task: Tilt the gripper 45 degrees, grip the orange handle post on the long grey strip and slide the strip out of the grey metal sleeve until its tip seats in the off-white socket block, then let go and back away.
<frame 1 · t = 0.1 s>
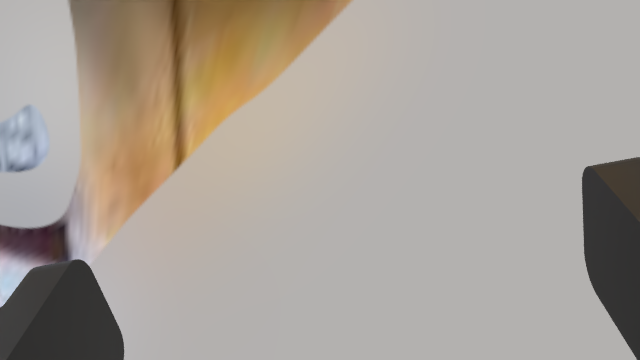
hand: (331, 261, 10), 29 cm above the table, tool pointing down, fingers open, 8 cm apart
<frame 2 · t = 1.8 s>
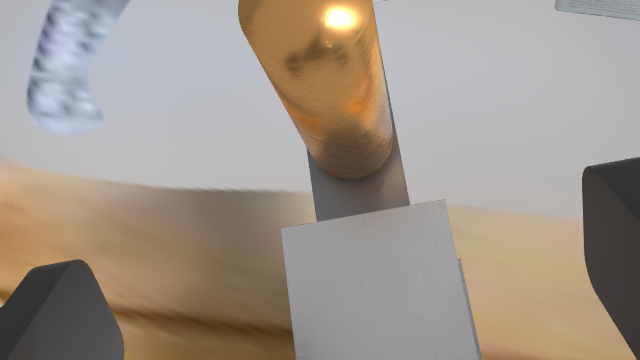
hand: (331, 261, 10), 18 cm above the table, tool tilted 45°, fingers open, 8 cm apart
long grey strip: (364, 259, 16), point 12 cm above the table, slide at 0.0 cm
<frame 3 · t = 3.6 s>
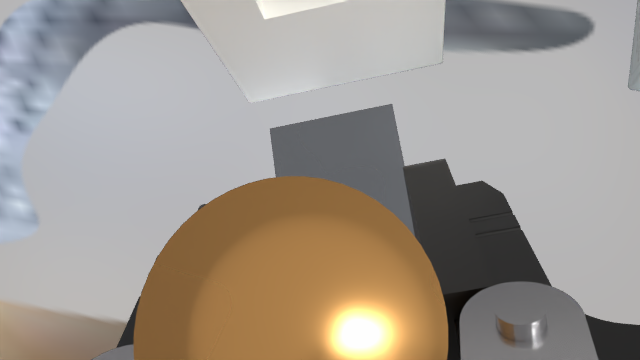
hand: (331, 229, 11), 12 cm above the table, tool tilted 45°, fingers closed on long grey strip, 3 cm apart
socket block: (335, 30, 26), on the table
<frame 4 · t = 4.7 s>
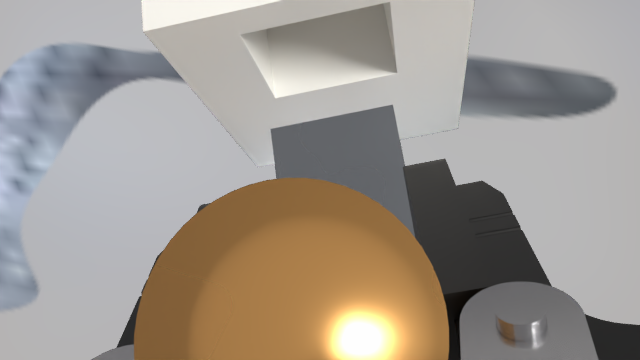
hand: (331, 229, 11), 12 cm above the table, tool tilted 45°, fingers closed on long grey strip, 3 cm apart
socket block: (346, 91, 25), on the table
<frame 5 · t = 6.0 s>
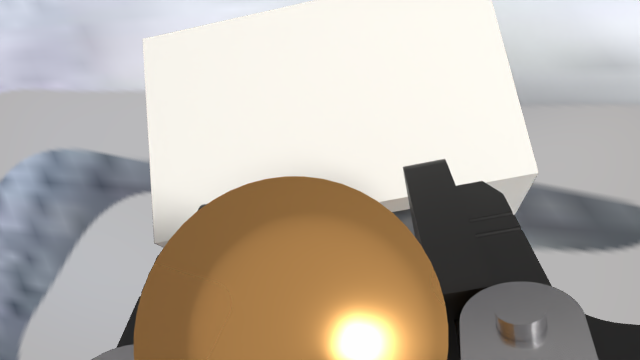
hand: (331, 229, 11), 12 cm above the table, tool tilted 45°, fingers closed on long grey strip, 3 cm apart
socket block: (366, 214, 23), on the table
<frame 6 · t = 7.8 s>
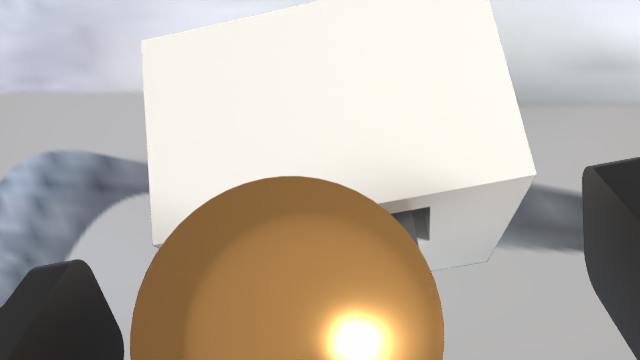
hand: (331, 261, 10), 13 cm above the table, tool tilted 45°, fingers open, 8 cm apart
socket block: (365, 215, 23), on the table
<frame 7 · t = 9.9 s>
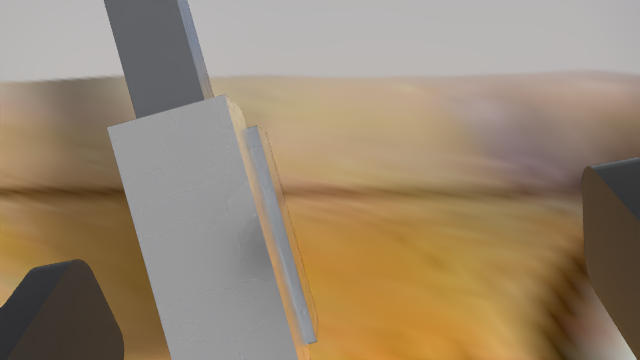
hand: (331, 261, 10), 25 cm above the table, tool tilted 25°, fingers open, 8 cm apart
grey sleeve: (239, 231, 35), on the table
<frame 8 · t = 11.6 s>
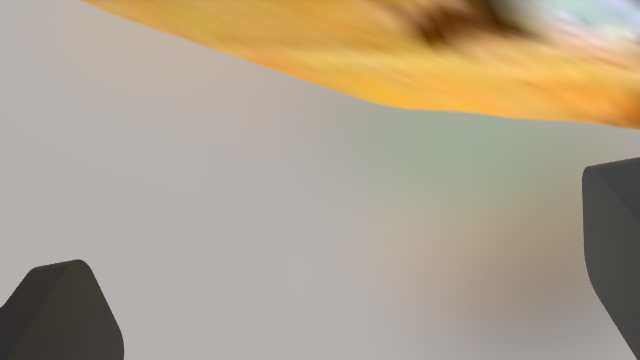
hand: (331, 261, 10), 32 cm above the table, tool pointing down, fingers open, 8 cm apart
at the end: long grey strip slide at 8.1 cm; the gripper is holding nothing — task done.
